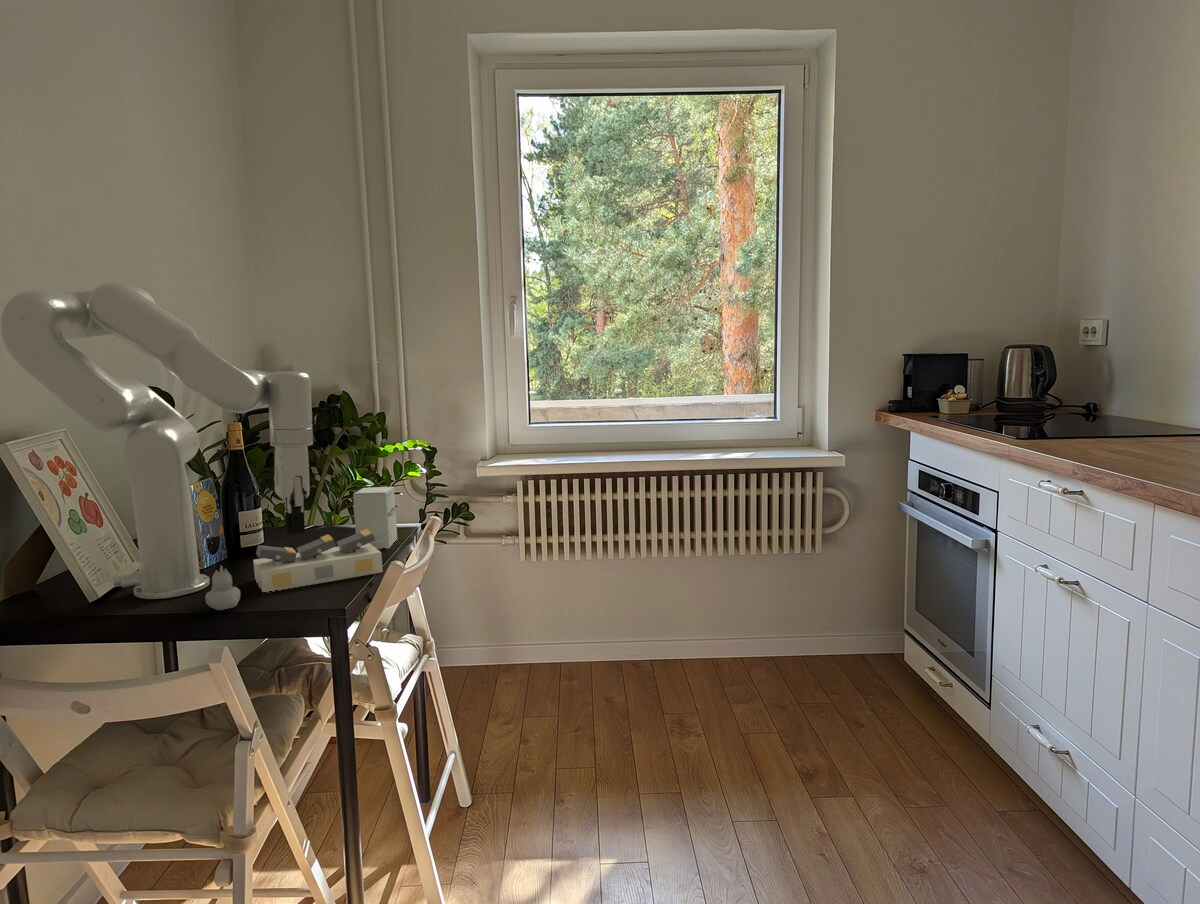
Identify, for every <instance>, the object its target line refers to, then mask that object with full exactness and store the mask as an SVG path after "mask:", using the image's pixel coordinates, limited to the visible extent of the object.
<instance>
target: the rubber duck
mask: <svg viewBox="0 0 1200 904" xmlns="http://www.w3.org/2000/svg"><path fill="white" fill-rule="evenodd" d="M211 584H212V586H211V590H210V591H208V592H206V594H205V597H204V599H205V603H206V604H207V605H208V606H209V607H210V608H212V609H214V610H216V611H221V610H223V611H225V610H224V609H228V610H230V609H229V608H231V609H233V608H235V607H236V606H237V605H238V602H239V601H240V600H241V590H240V589H239V588H238V587H237V586H234V585H233V577H232V575H231V573H230V572H229V571H228V569H227V568H224V567H223V565H222V564H220V567H219V571H218V570H217V569H216V570H215V571H214V573H213V575H212V577H211Z"/></svg>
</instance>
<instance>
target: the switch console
mask: <svg viewBox="0 0 1200 904" xmlns="http://www.w3.org/2000/svg"><path fill="white" fill-rule="evenodd" d="M296 553H297V554H296V559H295V562H293V561H284V560H274V559H265V558H256V559H253V562H252V563H253V570H254V571H253V572H254V580H256V581H255V583H256V584H257V583H258V584H257V586H258V585H259V586H258V588H259V589H260V588H261V589H260V591H261V590H262V591H261V592H267V593H270V592H269V591H272V592H276V591H275V590H278V591H282V590H283V589H284V590H288V589H289V588H290V589H295V588H300V586H301V587H306V585H307V586H312V585H318V584H323V583H329V582H335V581H340V580H346V579H352V578H357V577H364V576H369V575H370V576H371V575H375V574H380V573H383V571H384V570H383V558H382V556H383V555H382V552H381V551H380V549H376V548H375V547H374V546H372V545H371V544H370V543H368V544H366V545H363V546H361V547H358V548H356V549H353V550H351V551H348V552H346V553H343V552H342V551H341V550H340V549H339V547H338V546H336V547H334V548H331V549H329V550H326V551H324V552H322V553H319V554H317V555H314V556H312V557H310V558H307V559H305V560H303V559H302V557H301V556H300V555H299V552H296ZM294 587H295V588H294Z"/></svg>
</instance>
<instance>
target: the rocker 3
mask: <svg viewBox="0 0 1200 904" xmlns="http://www.w3.org/2000/svg"><path fill="white" fill-rule="evenodd" d="M373 541H375V539H374V536H373V533H372V532H370V531H369V530H367V529H365V530H362V531H360V532H359V533H357V534H356V533H354V534H353V535H350V536H348V537H344V538H342V539H339V540H338V541H336V544H337V545H336V546H337V547H339V549H340V550H341V551H342V552H343V553H346V552H348V551H351V550H353V549H356V548H358V547H361V546H363V545H366V544H368V543H370V542H373Z"/></svg>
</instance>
